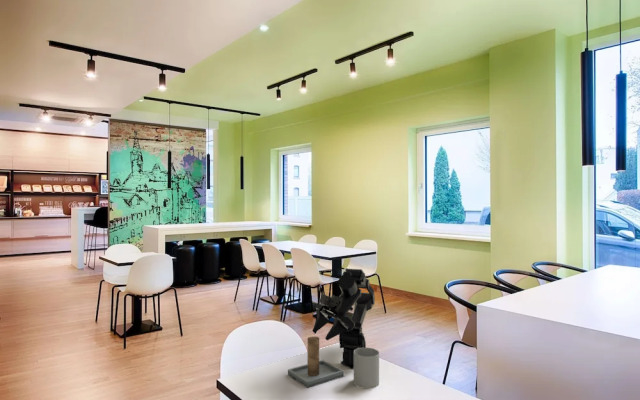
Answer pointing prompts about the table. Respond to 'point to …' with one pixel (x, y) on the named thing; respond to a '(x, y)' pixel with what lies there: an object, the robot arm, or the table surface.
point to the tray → (325, 374)
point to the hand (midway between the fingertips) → (319, 335)
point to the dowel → (313, 356)
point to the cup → (366, 367)
